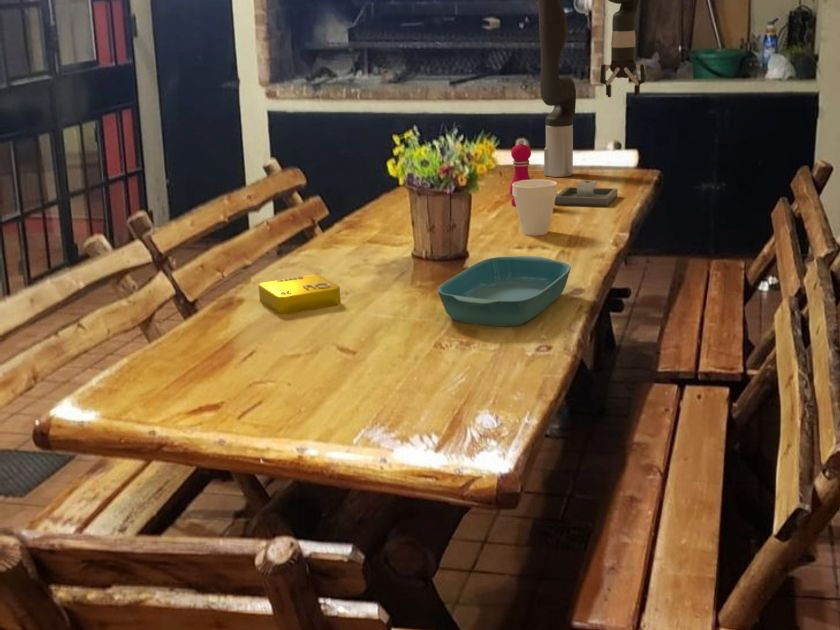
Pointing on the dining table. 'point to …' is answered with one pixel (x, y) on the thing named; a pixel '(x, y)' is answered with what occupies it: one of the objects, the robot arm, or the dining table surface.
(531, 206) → the cup
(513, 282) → the casserole dish
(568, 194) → the tray
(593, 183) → the grey dotted cube
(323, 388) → the dining table surface
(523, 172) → the pepper mill
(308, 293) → the element tile
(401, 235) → the dining table surface
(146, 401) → the dining table surface
